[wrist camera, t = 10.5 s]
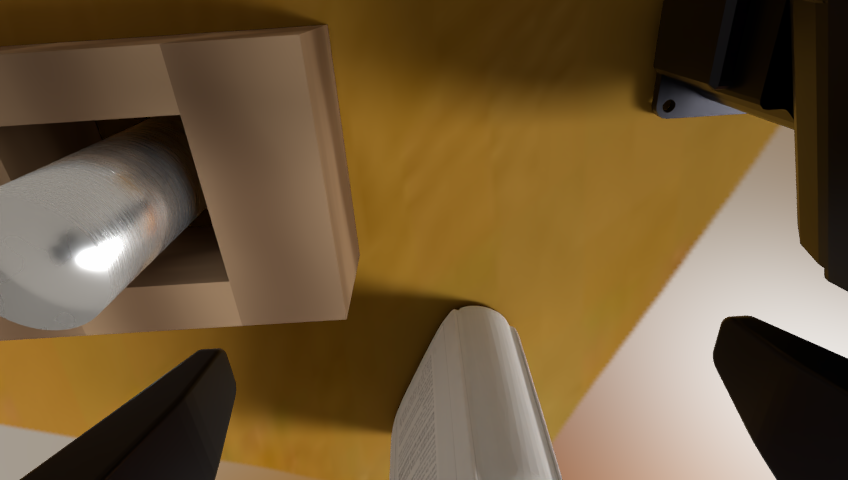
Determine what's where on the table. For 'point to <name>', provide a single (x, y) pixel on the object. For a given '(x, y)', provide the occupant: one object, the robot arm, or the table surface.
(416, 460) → the white rounded printed block
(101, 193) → the silver upright cylinder
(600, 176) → the table surface
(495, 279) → the table surface
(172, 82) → the hole board
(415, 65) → the table surface
